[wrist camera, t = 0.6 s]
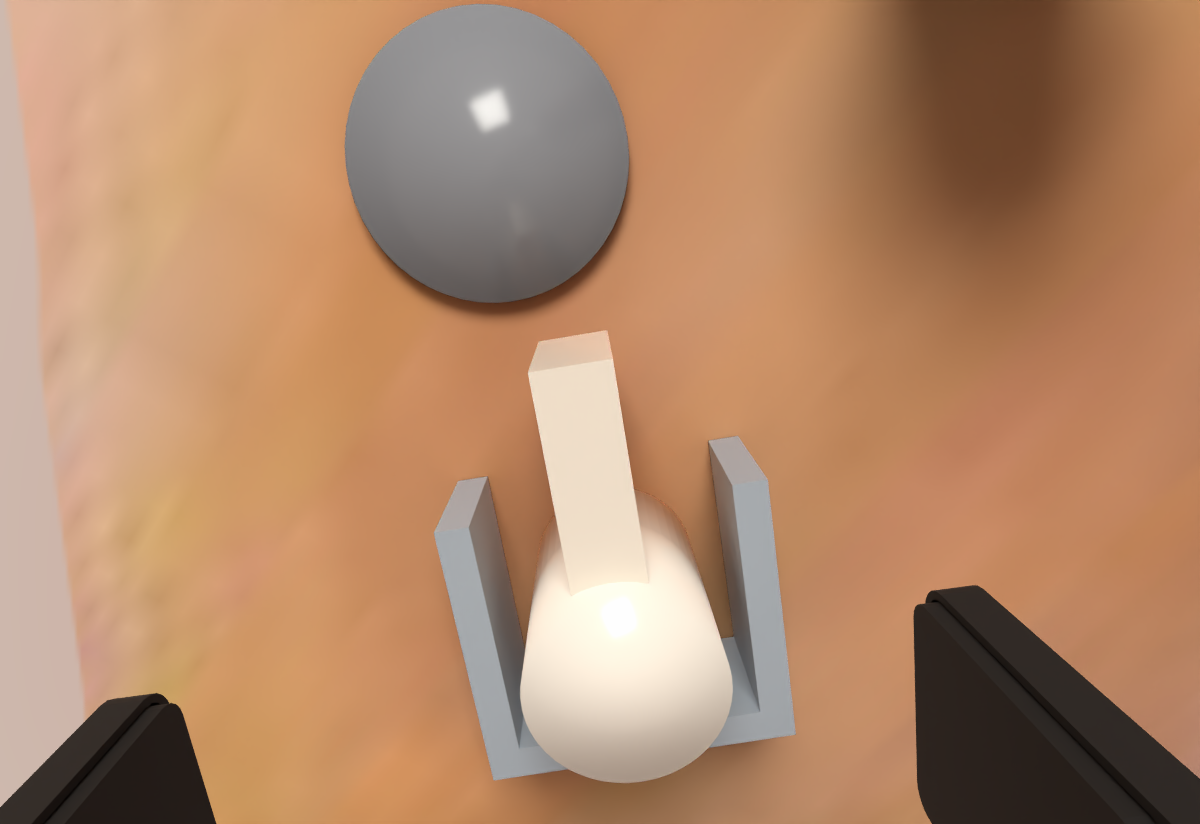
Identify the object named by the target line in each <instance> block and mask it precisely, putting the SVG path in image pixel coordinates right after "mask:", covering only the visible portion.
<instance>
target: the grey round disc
mask: <svg viewBox="0 0 1200 824" xmlns="http://www.w3.org/2000/svg"><path fill="white" fill-rule="evenodd" d="M345 158H346V169H347V175H348V180H349V185H350V189H351V192H352V195H353V198H354V202H355V204H356V207H357V209H358V211H359V213H360V216H361V218H362V220H363V222H364V224H365V225H366V227H367V229H368V230H369V232H370V234H371V235H372V237H373V238H374V240H375V241H376V242H377V243H378V245H379V246H380V247H381V249H382V250H383V251H384V252H385V253H386V254H387V255H388V256H389V258H390V259H391V260H392V261H393V262H394V263H395V264H396V265H397V266H399V267H400V268H401V269H402V270H404V271H405V272H406V273H408V274H409V275H410V276H411V277H413V278H414V279H416V280H418V281H419V282H421V283H423V284H424V285H426V286H428V287H430V288H432V289H434V290H436V291H439V292H441V293H443V294H446V295H449V296H452V297H456V298H459V299H463V300H469V301H475V302H488V303H500V302H510V301H517V300H521V299H526V298H530V297H533V296H536V295H538V294H541V293H544V292H546V291H549V290H551V289H552V288H554V287H556V286H558V285H560V284H562V283H564V282H565V281H566V280H568V279H569V278H570V277H572V276H573V275H575V274H576V273H577V272H579V271H580V270H581V269H582V268H583V267H584V266H585V265H586V264H587V263H588V262H589V261H590V260H591V259H592V258H593V257H594V255H595V254H596V253H597V252H598V250H599V249H600V248H601V247H602V245H603V244H604V242H605V240H606V239H607V237H608V235H609V234H610V232H611V231H612V229H613V226H614V224H615V222H616V220H617V217H618V215H619V213H620V210H621V206H622V203H623V200H624V196H625V192H626V186H627V180H628V169H629V150H628V138H627V132H626V128H625V123H624V118H623V115H622V112H621V109H620V106H619V103H618V100H617V98H616V96H615V94H614V92H613V90H612V87H611V85H610V83H609V81H608V80H607V78H606V77H605V75H604V74H603V72H602V70H601V69H600V67H599V66H598V64H597V63H596V62H595V61H594V60H593V58H592V57H591V56H590V55H589V54H588V53H587V51H586V50H585V49H584V48H583V47H582V46H581V45H580V44H579V43H577V42H576V41H575V40H574V39H573V38H572V37H571V36H570V35H568V34H567V33H565V32H564V31H562V30H561V29H560V28H558V27H557V26H555V25H554V24H552V23H550V22H548V21H546V20H544V19H542V18H540V17H538V16H536V15H534V14H531V13H528V12H525V11H522V10H519V9H516V8H511V7H506V6H501V5H490V4H472V5H462V6H455V7H452V8H448V9H444V10H440V11H437V12H435V13H432V14H430V15H427V16H425V17H423V18H421V19H419V20H417V21H416V22H414V23H412V24H411V25H409V26H407V27H406V28H404V29H403V30H402V31H400V32H399V33H398V34H397V35H396V36H394V37H393V38H392V39H391V40H389V42H388V43H387V44H386V45H385V46H384V47H383V48H382V49H381V50H380V51H379V52H378V54H377V55H376V56H375V57H374V59H373V60H372V62H371V63H370V65H369V66H368V68H367V69H366V71H365V72H364V74H363V76H362V78H361V80H360V82H359V84H358V86H357V88H356V91H355V94H354V97H353V100H352V103H351V106H350V110H349V115H348V120H347V125H346V137H345Z"/></svg>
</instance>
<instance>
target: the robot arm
mask: <svg viewBox="0 0 1200 824" xmlns="http://www.w3.org/2000/svg"><path fill="white" fill-rule="evenodd" d="M914 657H915V702H916V748H917V783H918V790H919V795H920V798H921V802H922V805H923V807H924V810H925V812H926V814H927V816H928V818H929V819H930V821H931V823H932V824H1200V779H1199V778H1198V777H1197V776H1196V775H1195V774H1194V773H1192V772H1191V771H1190V770H1189V769H1188V768H1187V767H1186V766H1184V765H1183V764H1182V763H1181V762H1180V761H1179V760H1178V759H1176V758H1175V757H1174V756H1173V755H1172V754H1171V753H1170V752H1169V751H1167V750H1166V749H1165V748H1164V747H1163V746H1162V745H1161V744H1159V743H1158V742H1157V741H1156V740H1155V739H1154V738H1153V737H1151V736H1150V735H1149V734H1148V733H1147V732H1146V731H1145V730H1143V729H1142V728H1141V727H1140V726H1139V725H1138V724H1137V723H1135V722H1134V721H1133V720H1132V719H1131V718H1130V717H1129V716H1127V715H1126V714H1125V713H1124V712H1123V711H1122V710H1121V709H1119V708H1118V707H1117V706H1116V705H1115V704H1114V703H1113V702H1111V701H1110V700H1109V699H1108V698H1107V697H1106V696H1105V695H1104V694H1102V693H1101V692H1100V691H1099V690H1098V689H1097V688H1096V687H1094V686H1093V685H1092V684H1091V683H1090V682H1089V681H1088V680H1086V679H1085V678H1084V677H1083V676H1082V675H1081V674H1080V673H1078V672H1077V671H1076V670H1075V669H1074V668H1073V667H1072V666H1070V665H1069V664H1068V663H1067V662H1066V661H1065V660H1064V659H1062V658H1061V657H1060V656H1059V655H1058V654H1057V653H1056V652H1054V651H1053V650H1052V649H1051V648H1050V647H1049V646H1048V645H1046V644H1045V643H1044V642H1043V641H1042V640H1041V639H1040V638H1039V637H1037V636H1036V635H1035V634H1034V633H1033V632H1032V631H1031V630H1029V629H1028V628H1027V627H1026V626H1025V625H1024V624H1023V623H1021V622H1020V621H1019V620H1018V619H1017V618H1016V617H1015V616H1013V615H1012V614H1011V613H1010V612H1009V611H1008V610H1007V609H1005V608H1004V607H1003V606H1002V605H1001V604H1000V603H999V602H997V601H996V600H995V599H994V598H993V597H992V596H991V595H989V594H988V593H987V592H986V591H985V590H984V589H982V588H981V587H979V586H975V585H972V586H965V587H957V588H950V589H942V590H934V591H931V592H929V593H928V595H927V598H926V603H925V604H918V605H917V606H916V607H915V610H914ZM0 824H216V821H215V818H214V815H213V812H212V808H211V805H210V802H209V799H208V795H207V792H206V789H205V785H204V782H203V779H202V776H201V772H200V769H199V766H198V762H197V759H196V756H195V753H194V749H193V746H192V743H191V739H190V736H189V733H188V730H187V726H186V723H185V720H184V717H183V714H182V711H181V709H180V708H179V707H178V706H177V705H176V704H173V703H170V704H169V702H168V700H167V699H166V698H165V697H164V696H163V695H161V694H157V693H155V694H147V695H140V696H132V697H125V698H117V699H112V700H108V701H106V702H105V703H103V704H102V705H101V706H100V707H99V708H98V709H97V710H96V711H95V712H94V713H93V714H92V715H91V716H90V717H89V718H88V719H87V720H86V721H85V722H84V723H83V724H82V725H81V726H80V727H79V728H78V729H77V730H76V731H75V732H74V733H73V734H72V735H71V736H70V737H69V738H68V739H67V740H66V741H65V742H64V743H63V744H62V745H61V746H60V747H59V748H58V749H57V750H56V751H55V752H54V753H53V754H52V755H51V756H50V758H48V759H47V760H46V761H45V763H44V764H43V765H42V766H41V767H40V768H39V769H38V770H37V771H36V772H35V773H34V774H33V775H32V776H31V777H30V778H29V779H28V780H27V781H26V782H25V783H24V784H23V785H22V786H21V787H20V788H19V789H18V790H17V791H16V792H15V793H14V794H13V795H12V796H11V797H10V798H9V799H8V800H7V801H6V802H5V803H4V804H3V805H2V806H1V807H0Z"/></svg>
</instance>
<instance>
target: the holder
mask: <svg viewBox="0 0 1200 824" xmlns="http://www.w3.org/2000/svg"><path fill="white" fill-rule="evenodd" d="M708 444H709V451H710V459H711V467H712V474H713V482H714V490H715V497H716V505H717V513H718V520H719V528H720V535H721V543H722V551H723V558H724V566H725V574H726V581H727V589H728V597H729V604H730V612H731V620H732V627H733V635H734V637H728V638H721V641H722V644H723V647H724V650H725V653H726V656H727V660H728V663H729V666H730V670H731V675H732V685H733V693H732V703H731V707H730V711H729V714H728V717H727V719H726V722H725V724H724V726H723V728H722V730H721V732H720V733H719V735H718V736H717V738H716V739H715V740H714V742H713V743H712V744H711V746H710V747H709V748H711V747H717V746H724V745H730V744H737V743H743V742H750V741H757V740H763V739H770V738H776V737H783V736H790V735H796V733H795V723H794V714H793V705H792V696H791V687H790V678H789V669H788V660H787V651H786V642H785V632H784V623H783V614H782V605H781V596H780V587H779V578H778V569H777V560H776V551H775V541H774V532H773V523H772V514H771V505H770V496H769V487H768V479H767V478H766V476H765V475H764V473H763V472H762V470H761V469H760V468H759V466H758V465H757V463H756V462H755V460H754V459H753V457H752V456H751V454H750V453H749V452H748V450H747V449H746V447H745V446H744V444H743V443H742V441H741V440H740V438H739V437H738V436H734V437H728V438H722V439H716V440H710V441H708ZM434 536H435V540H436V544H437V548H438V552H439V556H440V561H441V565H442V569H443V573H444V577H445V581H446V585H447V589H448V594H449V598H450V602H451V606H452V610H453V614H454V618H455V623H456V627H457V631H458V635H459V639H460V643H461V647H462V651H463V656H464V660H465V664H466V668H467V672H468V676H469V680H470V685H471V689H472V693H473V697H474V701H475V705H476V709H477V713H478V718H479V722H480V726H481V730H482V734H483V738H484V742H485V747H486V751H487V755H488V759H489V763H490V767H491V771H492V775H493V780H500V779H506V778H513V777H520V776H526V775H533V774H539V773H546V772H552V771H559V770H566V769H567V768H565V767H564V766H562V765H561V764H559V763H558V762H556V761H555V760H554V759H553V758H551V757H550V756H549V755H548V754H547V753H546V752H545V751H544V750H543V749H542V748H541V747H540V745H539V744H538V743H537V742H536V740H535V739H534V737H533V736H532V734H531V733H530V730H529V728H528V726H527V724H526V722H525V719H524V715H523V712H522V707H521V700H520V685H521V678H522V671H523V663H524V656H525V648H524V643H523V638H522V634H521V629H520V624H519V620H518V615H517V611H516V606H515V601H514V597H513V592H512V587H511V583H510V578H509V574H508V569H507V564H506V560H505V555H504V550H503V546H502V541H501V537H500V532H499V527H498V523H497V518H496V513H495V509H494V504H493V500H492V495H491V490H490V486H489V481H488V476H487V477H481V478H474V479H468V480H462V481H458V483H457V485H456V487H455V489H454V491H453V493H452V496H451V498H450V500H449V502H448V504H447V506H446V508H445V510H444V512H443V515H442V517H441V519H440V521H439V523H438V525H437V527H436V529H435V532H434Z"/></svg>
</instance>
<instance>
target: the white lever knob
mask: <svg viewBox="0 0 1200 824" xmlns="http://www.w3.org/2000/svg"><path fill="white" fill-rule="evenodd" d="M528 376H529V381H530V386H531V391H532V397H533V402H534V407H535V412H536V417H537V423H538V428H539V433H540V438H541V443H542V448H543V454H544V459H545V464H546V469H547V474H548V479H549V485H550V490H551V495H552V500H553V505H554V510H555V515H554V516H553V517H552V519H551V520H550V522H549V523H548V525H547V527H546V529H545V531H544V533H543V535H542V539H541V542H540V546H539V553H538V560H537V568H536V575H535V582H534V590H533V597H532V604H531V612H530V619H529V626H528V634H527V641H526V649H525V656H524V663H523V671H522V678H521V685H520V700H521V707H522V712H523V715H524V719H525V722H526V724H527V726H528V728H529V730H530V733H531V734H532V736H533V737H534V739H535V740H536V742H537V743H538V744H539V745H540V747H541V748H542V749H543V750H544V751H545V752H546V753H547V754H548V755H549V756H550V757H551V758H553V759H554V760H555V761H556V762H558V763H559V764H561V765H562V766H564V767H565V768H567V769H569V770H571V771H573V772H575V773H577V774H580V775H583V776H585V777H588V778H591V779H596V780H600V781H605V782H614V783H633V782H643V781H648V780H653V779H657V778H660V777H663V776H666V775H669V774H671V773H673V772H675V771H677V770H680V769H681V768H683V767H685V766H686V765H688V764H690V763H691V762H693V761H694V760H695V759H696V758H698V757H699V756H700V755H702V754H703V753H704V752H705V751H706V750H707V749H708V748H709V747H710V746H711V744H712V743H713V742H714V740H715V739H716V738H717V736H718V735H719V733H720V732H721V730H722V728H723V726H724V724H725V722H726V719H727V717H728V714H729V711H730V707H731V703H732V693H733V685H732V675H731V670H730V666H729V663H728V660H727V656H726V653H725V650H724V647H723V644H722V641H721V638H720V635H719V631H718V628H717V625H716V622H715V619H714V616H713V613H712V610H711V607H710V603H709V600H708V597H707V594H706V591H705V588H704V585H703V582H702V578H701V575H700V572H699V569H698V566H697V563H696V560H695V557H694V554H693V550H692V547H691V544H690V541H689V538H688V535H687V533H686V530H685V528H684V526H683V524H682V522H681V521H680V519H679V518H678V517H677V515H676V514H675V513H674V512H673V511H672V510H671V509H670V508H669V507H668V506H667V505H666V504H664V503H663V502H662V501H661V500H659V499H657V498H655V497H654V496H652V495H650V494H647V493H645V492H642V491H639V490H635V489H634V487H633V481H632V475H631V469H630V462H629V456H628V450H627V444H626V438H625V431H624V425H623V419H622V413H621V407H620V400H619V394H618V388H617V382H616V376H615V369H614V363H613V357H612V352H611V347H610V342H609V337H608V332H607V330H605V331H599V332H593V333H587V334H581V335H575V336H569V337H563V338H557V339H551V340H545V341H539V343H538V346H537V348H536V351H535V354H534V357H533V360H532V362H531V365H530V368H529V371H528Z"/></svg>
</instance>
